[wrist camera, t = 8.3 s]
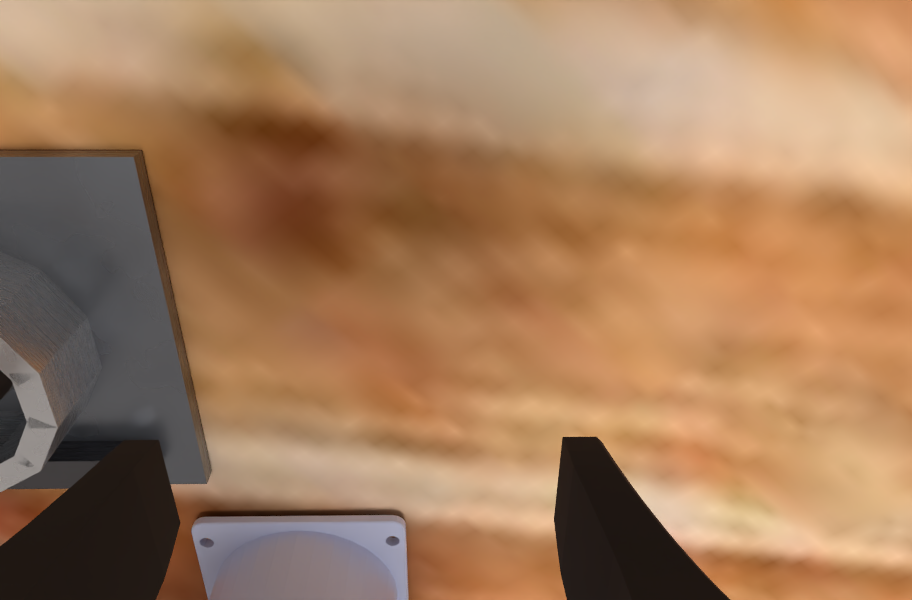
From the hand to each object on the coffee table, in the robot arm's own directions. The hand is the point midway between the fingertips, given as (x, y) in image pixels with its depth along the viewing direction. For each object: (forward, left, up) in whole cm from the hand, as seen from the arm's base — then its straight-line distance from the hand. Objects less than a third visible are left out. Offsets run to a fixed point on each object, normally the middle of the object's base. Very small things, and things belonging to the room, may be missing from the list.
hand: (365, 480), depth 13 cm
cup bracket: (-3, +13, -10) cm, 17 cm away
